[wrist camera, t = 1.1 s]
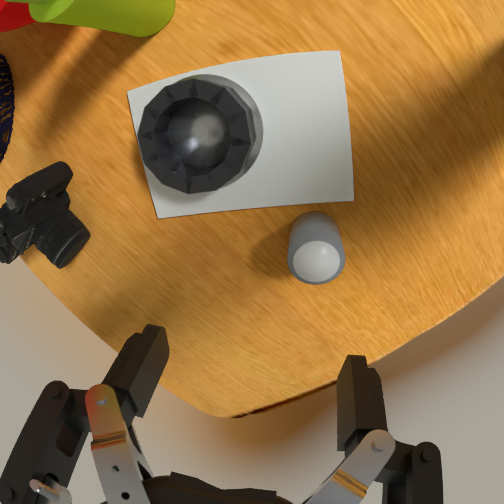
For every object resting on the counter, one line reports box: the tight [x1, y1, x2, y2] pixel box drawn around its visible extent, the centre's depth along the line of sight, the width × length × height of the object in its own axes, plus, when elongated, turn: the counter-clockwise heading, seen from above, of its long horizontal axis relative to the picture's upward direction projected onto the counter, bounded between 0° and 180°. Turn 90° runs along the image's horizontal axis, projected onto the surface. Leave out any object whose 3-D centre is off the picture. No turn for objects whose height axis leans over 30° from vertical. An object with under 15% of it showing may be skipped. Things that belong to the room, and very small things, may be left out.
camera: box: [0, 161, 90, 269], centre depth 29 cm, size 14×11×10 cm
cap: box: [287, 211, 345, 285], centre depth 27 cm, size 5×5×5 cm
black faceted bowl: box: [137, 74, 264, 194], centre depth 24 cm, size 11×11×4 cm
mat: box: [127, 50, 354, 219], centre depth 25 cm, size 20×14×1 cm
